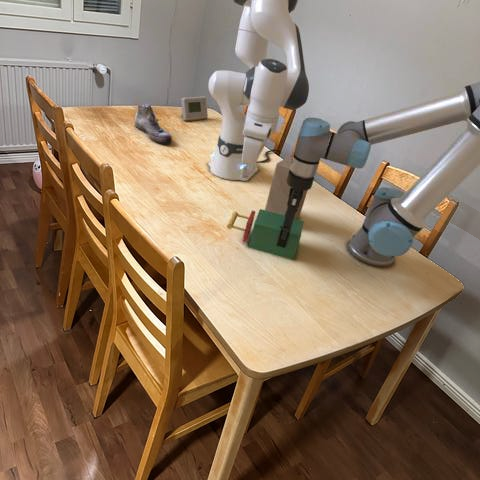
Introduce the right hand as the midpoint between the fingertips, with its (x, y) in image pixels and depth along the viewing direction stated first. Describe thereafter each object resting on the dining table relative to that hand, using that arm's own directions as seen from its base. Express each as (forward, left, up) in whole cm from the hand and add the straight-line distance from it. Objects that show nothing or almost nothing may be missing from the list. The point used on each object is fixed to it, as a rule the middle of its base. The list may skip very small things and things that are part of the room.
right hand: (283, 237), depth 138 cm
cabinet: (+2, -1, -4) cm, 4 cm away
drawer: (+8, -3, -3) cm, 8 cm away
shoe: (+42, -82, -4) cm, 92 cm away
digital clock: (+22, -113, -4) cm, 115 cm away
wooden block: (-5, -20, -4) cm, 21 cm away
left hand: (+14, -5, +19) cm, 24 cm away
